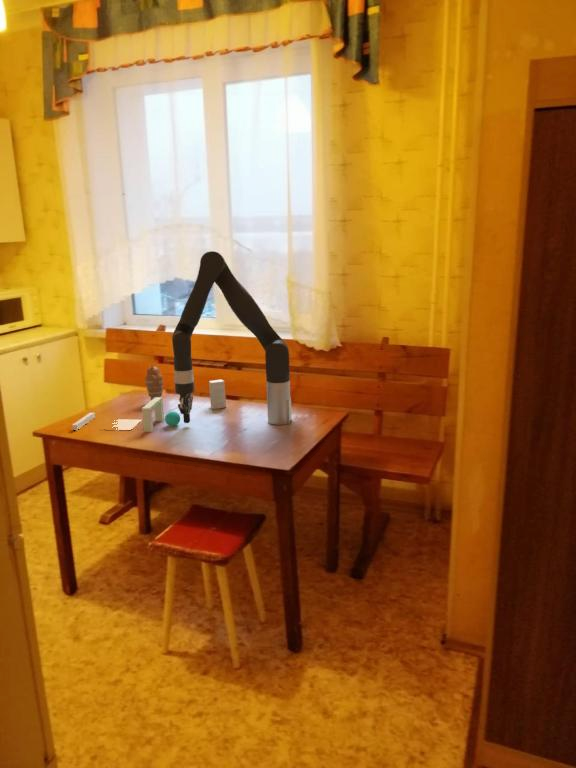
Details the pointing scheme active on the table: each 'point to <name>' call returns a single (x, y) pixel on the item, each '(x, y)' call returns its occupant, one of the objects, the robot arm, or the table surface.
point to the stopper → (83, 421)
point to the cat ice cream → (154, 382)
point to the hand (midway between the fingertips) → (187, 422)
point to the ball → (172, 418)
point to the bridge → (147, 413)
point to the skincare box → (217, 394)
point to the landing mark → (126, 424)
